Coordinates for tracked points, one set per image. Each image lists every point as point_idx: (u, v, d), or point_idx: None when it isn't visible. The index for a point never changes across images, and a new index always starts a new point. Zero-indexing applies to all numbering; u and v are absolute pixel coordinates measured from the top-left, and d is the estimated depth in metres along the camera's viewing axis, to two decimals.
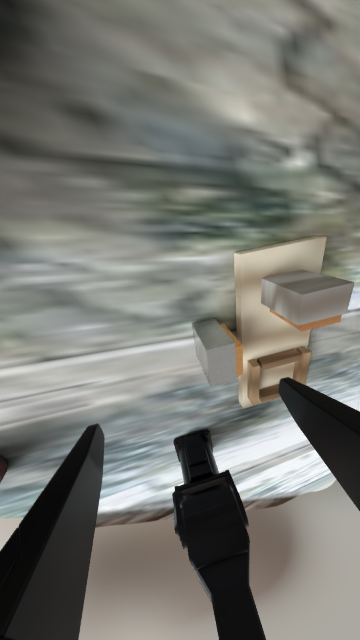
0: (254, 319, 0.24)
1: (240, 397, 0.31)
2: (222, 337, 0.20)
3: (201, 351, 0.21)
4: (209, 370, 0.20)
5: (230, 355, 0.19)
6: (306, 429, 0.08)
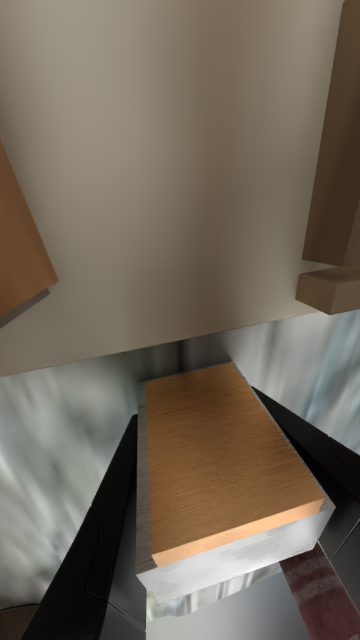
0: (124, 307, 0.06)
1: None
2: None
3: None
4: (243, 570, 0.06)
5: (197, 561, 0.05)
6: None
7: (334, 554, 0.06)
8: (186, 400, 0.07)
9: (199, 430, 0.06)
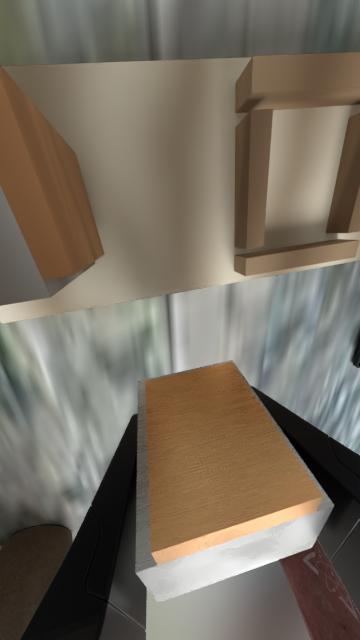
0: (134, 272, 0.11)
1: None
2: None
3: None
4: (243, 569, 0.06)
5: (197, 560, 0.05)
6: None
7: (334, 554, 0.06)
8: (186, 399, 0.07)
9: (199, 429, 0.06)
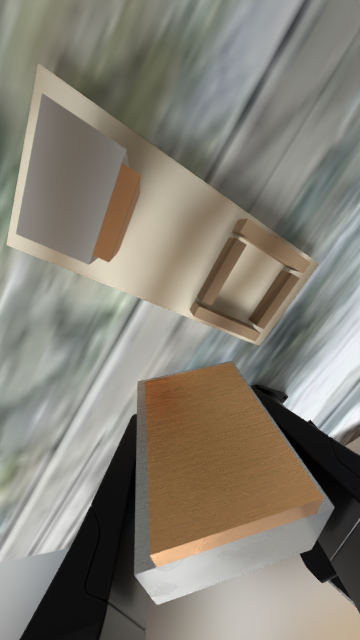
0: (128, 272, 0.15)
1: None
2: None
3: None
4: (242, 571, 0.06)
5: (196, 562, 0.05)
6: None
7: (334, 554, 0.06)
8: (186, 399, 0.07)
9: (198, 430, 0.06)
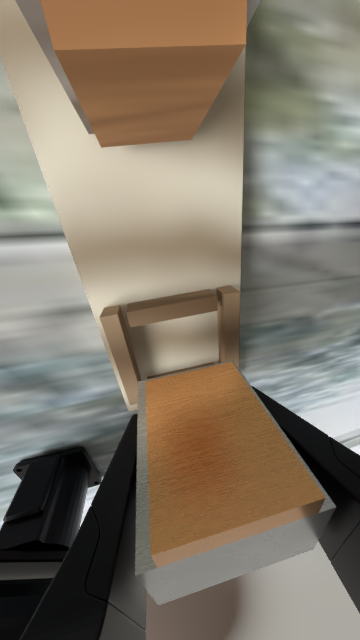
0: (85, 188, 0.09)
1: None
2: None
3: None
4: (244, 571, 0.06)
5: (197, 562, 0.05)
6: None
7: (334, 554, 0.06)
8: (186, 399, 0.07)
9: (199, 430, 0.06)
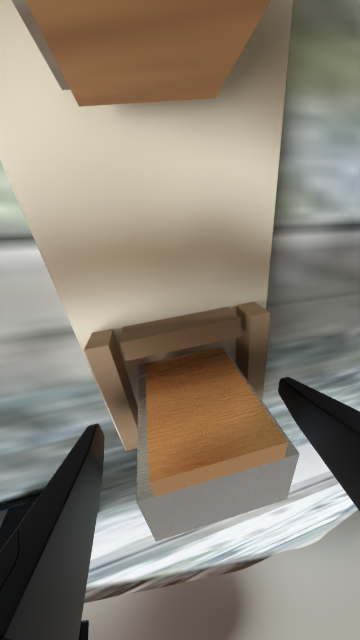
0: (60, 172, 0.07)
1: None
2: None
3: None
4: (227, 515, 0.07)
5: (186, 496, 0.06)
6: (306, 429, 0.08)
7: None
8: (180, 376, 0.08)
9: (190, 398, 0.07)
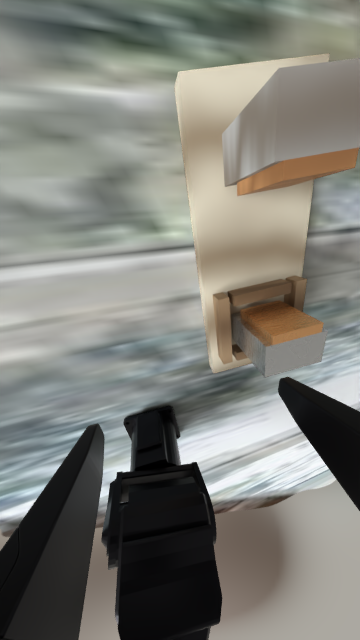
0: (216, 218, 0.15)
1: (210, 358, 0.22)
2: (255, 344, 0.15)
3: None
4: (294, 367, 0.15)
5: (282, 348, 0.14)
6: (306, 429, 0.08)
7: None
8: (264, 311, 0.17)
9: (274, 317, 0.16)
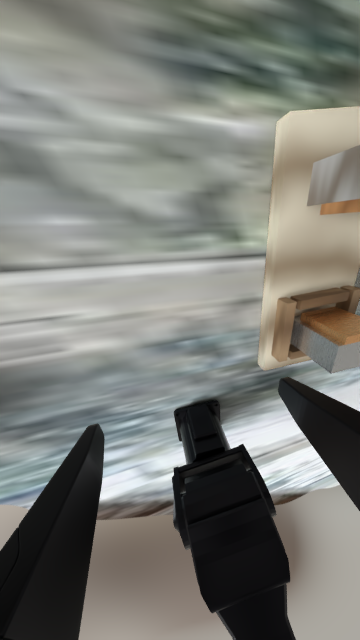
0: (294, 232, 0.17)
1: (261, 356, 0.24)
2: (322, 344, 0.18)
3: None
4: (356, 366, 0.18)
5: (351, 348, 0.16)
6: (306, 429, 0.08)
7: None
8: (326, 316, 0.19)
9: (339, 321, 0.18)
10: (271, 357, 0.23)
